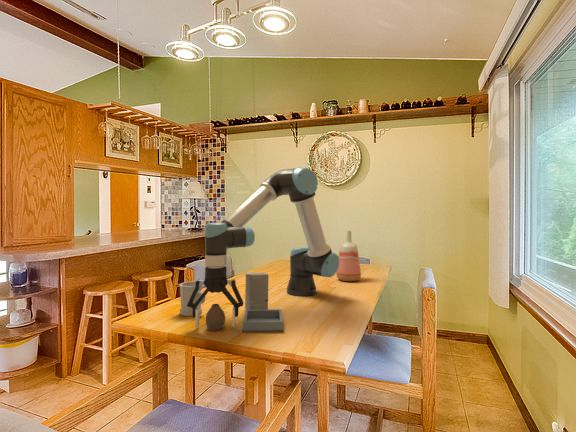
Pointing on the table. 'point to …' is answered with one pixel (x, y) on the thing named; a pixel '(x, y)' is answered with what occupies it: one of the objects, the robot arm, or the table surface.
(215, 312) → the vase
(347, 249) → the pink tapered bottle
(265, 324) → the bin
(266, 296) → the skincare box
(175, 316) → the table surface
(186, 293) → the cup
